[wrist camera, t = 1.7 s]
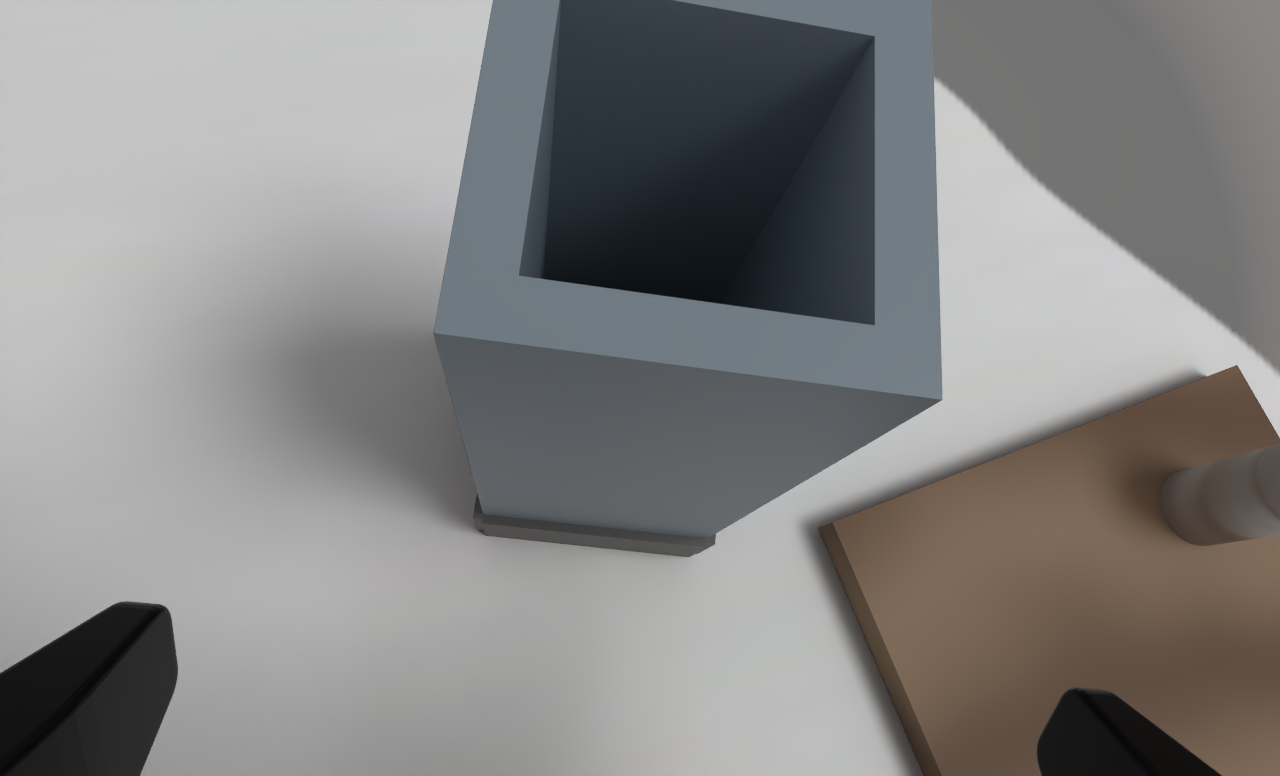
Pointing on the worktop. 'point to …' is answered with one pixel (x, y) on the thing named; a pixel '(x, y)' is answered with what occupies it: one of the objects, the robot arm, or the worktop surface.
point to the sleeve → (688, 259)
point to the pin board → (1085, 586)
